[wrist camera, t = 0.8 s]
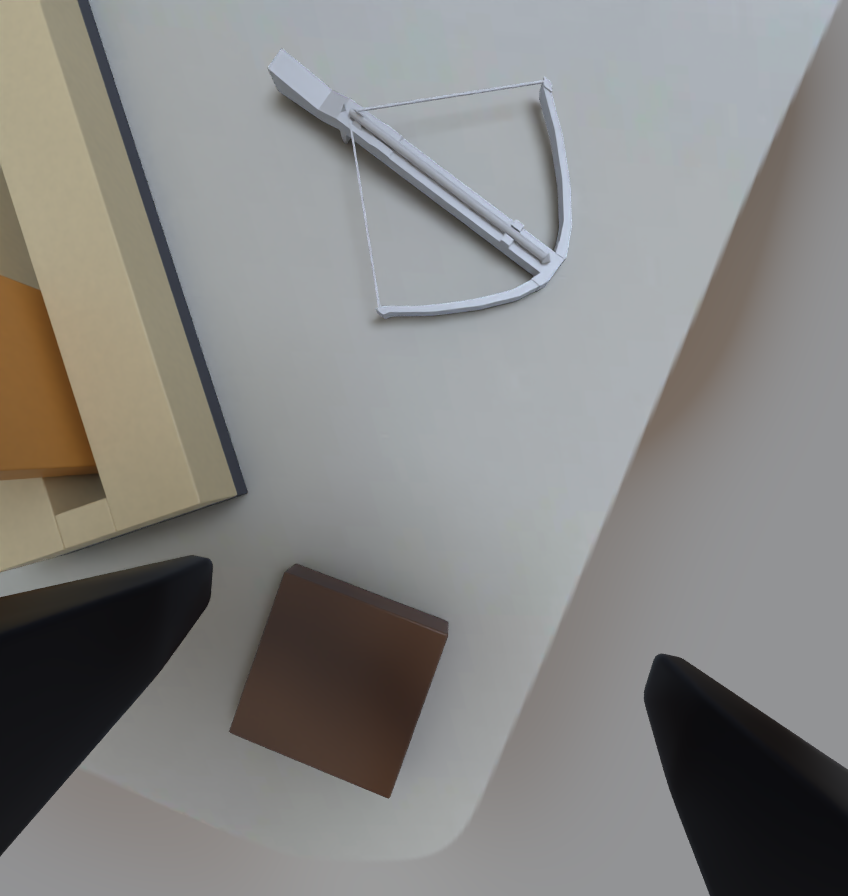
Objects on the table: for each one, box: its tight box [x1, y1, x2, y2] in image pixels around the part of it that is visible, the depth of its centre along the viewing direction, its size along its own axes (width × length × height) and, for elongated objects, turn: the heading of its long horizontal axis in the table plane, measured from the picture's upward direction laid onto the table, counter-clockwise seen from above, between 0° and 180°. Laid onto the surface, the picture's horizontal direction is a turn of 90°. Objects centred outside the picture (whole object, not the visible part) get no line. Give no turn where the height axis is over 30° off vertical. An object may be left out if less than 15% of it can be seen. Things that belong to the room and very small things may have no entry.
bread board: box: [229, 564, 448, 798], centre depth 20 cm, size 8×8×2 cm
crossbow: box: [268, 48, 572, 319], centre depth 20 cm, size 16×13×2 cm
